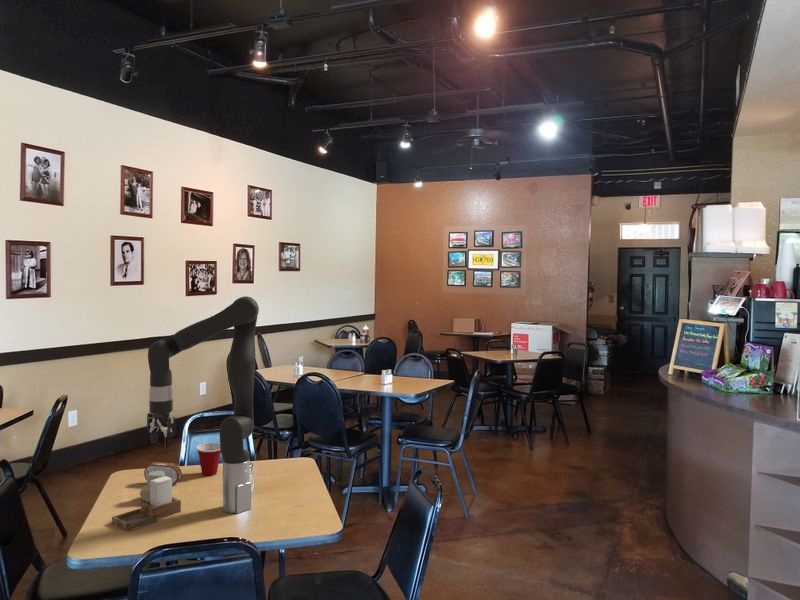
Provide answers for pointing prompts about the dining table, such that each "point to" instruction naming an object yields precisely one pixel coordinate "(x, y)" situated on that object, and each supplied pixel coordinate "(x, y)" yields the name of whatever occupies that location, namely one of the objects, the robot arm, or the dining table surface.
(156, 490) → the skincare box
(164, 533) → the dining table surface
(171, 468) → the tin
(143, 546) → the dining table surface
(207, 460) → the plastic cup
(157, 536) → the dining table surface
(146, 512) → the caddy
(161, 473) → the air freshener
